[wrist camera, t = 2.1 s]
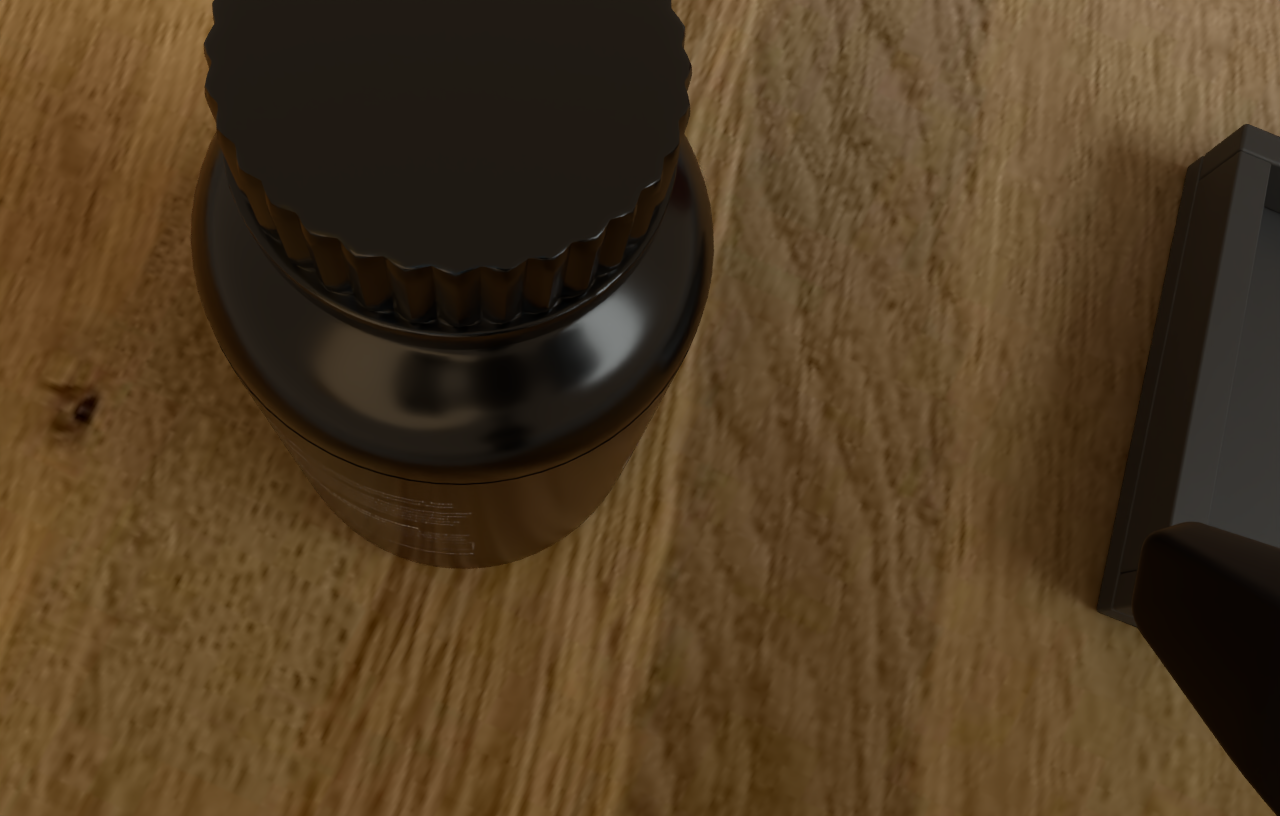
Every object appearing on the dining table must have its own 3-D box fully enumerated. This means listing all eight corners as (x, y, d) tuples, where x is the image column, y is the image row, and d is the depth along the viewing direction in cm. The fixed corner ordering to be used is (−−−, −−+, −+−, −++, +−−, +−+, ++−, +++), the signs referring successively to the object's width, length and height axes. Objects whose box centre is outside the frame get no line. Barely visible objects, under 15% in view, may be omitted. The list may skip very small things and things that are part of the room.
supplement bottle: (694, 458, 22) (928, 185, 10) (407, 641, 20) (314, 547, 9) (521, 200, 23) (562, -304, 12) (233, 350, 21) (-55, -73, 10)
